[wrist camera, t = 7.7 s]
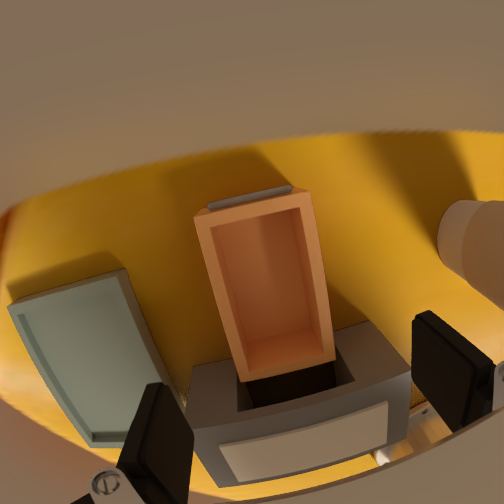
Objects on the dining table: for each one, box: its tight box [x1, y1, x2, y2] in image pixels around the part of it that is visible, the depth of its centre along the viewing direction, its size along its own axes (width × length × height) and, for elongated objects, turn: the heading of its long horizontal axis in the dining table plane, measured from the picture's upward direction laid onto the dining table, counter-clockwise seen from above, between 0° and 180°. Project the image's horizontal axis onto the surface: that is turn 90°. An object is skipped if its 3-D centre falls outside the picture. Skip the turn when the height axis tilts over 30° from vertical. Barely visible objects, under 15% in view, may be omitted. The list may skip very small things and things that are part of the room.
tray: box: [7, 268, 186, 448], centre depth 25 cm, size 18×13×2 cm
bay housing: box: [184, 320, 412, 488], centre depth 23 cm, size 16×8×8 cm, turn 104°
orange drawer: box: [193, 185, 336, 383], centre depth 22 cm, size 12×7×5 cm, turn 13°
